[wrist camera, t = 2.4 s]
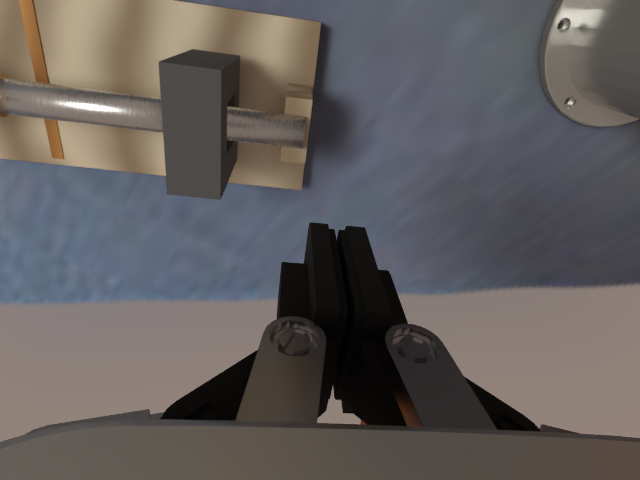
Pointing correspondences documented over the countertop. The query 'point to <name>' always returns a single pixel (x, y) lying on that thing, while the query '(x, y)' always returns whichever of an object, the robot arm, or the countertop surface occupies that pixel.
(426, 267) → the countertop surface
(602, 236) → the countertop surface
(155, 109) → the pipe
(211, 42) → the pipe stand
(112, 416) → the robot arm
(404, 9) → the countertop surface
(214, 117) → the collar
